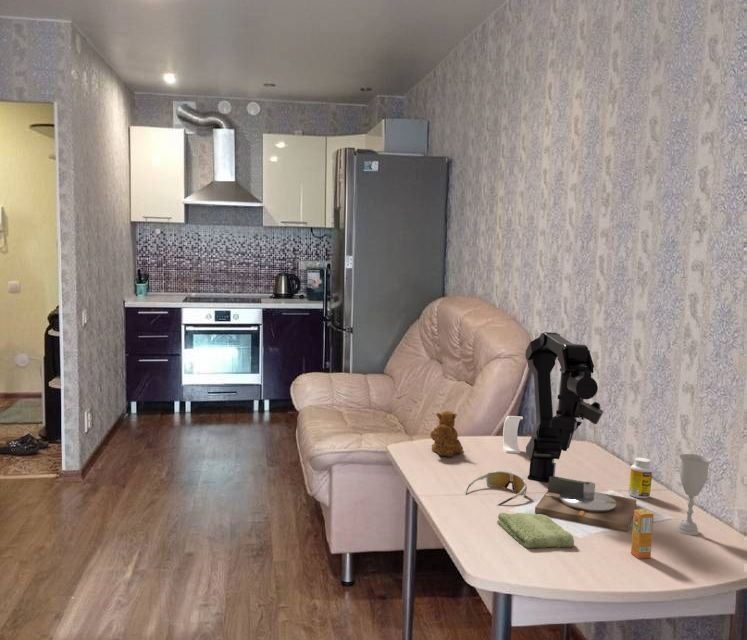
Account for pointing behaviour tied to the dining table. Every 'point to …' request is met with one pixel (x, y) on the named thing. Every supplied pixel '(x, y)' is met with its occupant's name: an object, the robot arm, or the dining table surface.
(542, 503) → the dial base
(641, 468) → the supplement bottle
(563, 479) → the dial
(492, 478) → the sunglasses
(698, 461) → the chalice
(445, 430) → the brown teddy bear
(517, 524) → the washcloth
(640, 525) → the supplement box
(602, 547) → the dining table surface
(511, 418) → the headphone stand
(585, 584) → the dining table surface
